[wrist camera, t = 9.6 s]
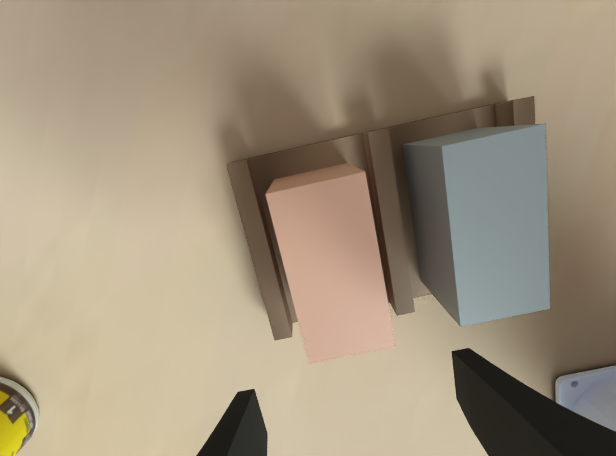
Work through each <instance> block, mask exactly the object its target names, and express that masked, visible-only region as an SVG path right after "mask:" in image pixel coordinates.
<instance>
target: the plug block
mask: <svg viewBox="0 0 616 456" xmlns="http://www.w3.org/2000/svg"><path fill="white" fill-rule="evenodd" d="M265 195H266V198H267V202H268V206H269V210H270V214H271V218H272V222H273V226H274V230H275V234H276V237H277V241H278V245H279V249H280V253H281V257H282V261H283V265H284V269H285V272H286V276H287V280H288V284H289V288H290V292H291V296H292V300H293V304H294V307H295V311H296V315H297V319H298V323H299V327H300V331H301V335H302V339H303V343H304V346H305V350H306V354H307V358H308V362H309V364H314V363H319V362H324V361H329V360H333V359H338V358H343V357H348V356H353V355H357V354H362V353H367V352H372V351H377V350H381V349H386V348H391V347H396V345H395V340H394V334H393V328H392V322H391V316H390V311H389V305H388V299H387V293H386V288H385V282H384V276H383V270H382V265H381V259H380V253H379V247H378V242H377V236H376V230H375V224H374V219H373V213H372V207H371V201H370V196H369V190H368V184H367V178H366V172H365V171H363V170H361V169H359V168H357V167H355V166H352V165H350V164H348V163H345V164H340V165H336V166H331V167H327V168H323V169H318V170H314V171H309V172H305V173H300V174H296V175H292V176H287V177H283V178H278V179H274V181H273V182H272V184H271V186H270V187H269V189H268V191H267V192H266V194H265Z"/></svg>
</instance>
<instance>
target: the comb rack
mask: <svg viewBox="0 0 616 456" xmlns="http://www.w3.org/2000/svg"><path fill="white" fill-rule="evenodd" d="M533 124H535V107H534V96H532V97H527V98H521V99H516V100H510V101H506V102H501V103H497V104H492V105H488V106H483V107H478V108H474V109H469V110H465V111H460V112H456V113H451V114H447V115H442V116H438V117H433V118H429V119H424V120H420V121H415V122H411V123H406V124H402V125H397V126H393V127H388V128H383V129H379V130H374V131H370V132H365V133H361V134H356V135H352V136H347V137H343V138H338V139H334V140H329V141H325V142H320V143H316V144H311V145H307V146H302V147H298V148H293V149H289V150H284V151H279V152H275V153H270V154H266V155H261V156H257V157H252V158H248V159H243V160H239V161H234V162H231V163H228V164H226V165H227V169H228V172H229V176H230V180H231V183H232V187H233V191H234V194H235V198H236V202H237V205H238V209H239V212H240V216H241V220H242V223H243V227H244V231H245V234H246V238H247V242H248V245H249V249H250V253H251V256H252V260H253V263H254V267H255V271H256V274H257V278H258V282H259V285H260V289H261V293H262V296H263V300H264V303H265V307H266V311H267V314H268V318H269V322H270V325H271V329H272V333H273V336H274V340H279V339H284V338H289V337H292V323H293V322H298V319H297V315H296V311H295V307H294V304H293V300H292V296H291V292H290V288H289V284H288V280H287V276H286V272H285V269H284V265H283V261H282V257H281V253H280V249H279V245H278V241H277V237H276V234H275V230H274V226H273V222H272V218H271V214H270V210H269V206H268V202H267V198H266V195H265V194H266V192H267V191H268V189H269V187H270V186H271V184H272V182H273V181H274V179H278V178H283V177H287V176H292V175H296V174H300V173H305V172H309V171H314V170H318V169H323V168H327V167H331V166H336V165H340V164H345V163H348V164H350V165H352V166H355V167H357V168H359V169H361V170H363V171H365V172H366V178H367V184H368V190H369V196H370V201H371V207H372V213H373V219H374V224H375V230H376V236H377V242H378V247H379V253H380V259H381V265H382V270H383V276H384V282H385V288H386V293H387V299H388V303H390V304H391V305H392V307H393V309H394V311H395V313H396V314H397V315H402V314H406V313H411V312H415V310H414V303H413V298H415V297H420V296H425V295H429V294H432V293H431V292H430V291H429V290H428V289H427V287H426V286H425V285H424V284H423V283H422V282H421V279H420V271H419V264H418V257H417V249H416V242H415V234H414V227H413V220H412V212H411V205H410V197H409V190H408V182H407V175H406V168H405V160H404V153H403V145H402V144H407V143H411V142H416V141H420V140H425V139H430V138H434V137H439V136H443V135H448V134H452V133H457V132H461V131H466V130H471V129H475V128H485V127H501V126H517V125H533Z"/></svg>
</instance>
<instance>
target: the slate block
mask: <svg viewBox="0 0 616 456" xmlns="http://www.w3.org/2000/svg"><path fill="white" fill-rule="evenodd" d="M402 145H403V153H404V160H405V168H406V175H407V182H408V190H409V197H410V205H411V212H412V220H413V227H414V234H415V242H416V249H417V257H418V264H419V271H420V279H421V282H422V283H423V284H424V285H425V286H426V287H427V289H428V290H429V291H430V292H431V293H432V294H433V296H434V297H435V298H436V299H437V300H438V301H439V303H440V304H441V305H442V306H443V307H444V308H445V309H446V311H447V312H448V313H449V314H450V315H451V316H452V318H453V319H454V320H455V321H456V322H457V323H458V325H459V326H460V327H463V326H468V325H473V324H478V323H483V322H487V321H492V320H497V319H502V318H507V317H512V316H517V315H522V314H527V313H532V312H537V311H542V310H547V309H550V284H549V242H548V200H547V159H546V124H533V125H517V126H501V127H485V128H475V129H471V130H466V131H461V132H457V133H452V134H448V135H443V136H439V137H434V138H430V139H425V140H420V141H416V142H411V143H407V144H402Z"/></svg>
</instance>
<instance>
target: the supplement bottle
mask: <svg viewBox="0 0 616 456" xmlns="http://www.w3.org/2000/svg"><path fill="white" fill-rule="evenodd" d="M38 422H39V411H38V407H37V404H36V402H35V400H34V398H33V397H32V396H31V394H30V393H29V392H28V391H27V390H26V389H25V388H24V387H22V386H21V385H19V384H18V383H16V382H14V381H12V380H9V379H6V378H3V377H0V456H15V455H16V454H17V453H18V452H19V450H20V449H21V448H22V447H23V446H24V445H25V444H26V442H27V441H28V440H29V439H30V438H31V437H32V435H33V434H34V432H35V430H36V428H37V425H38Z"/></svg>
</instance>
